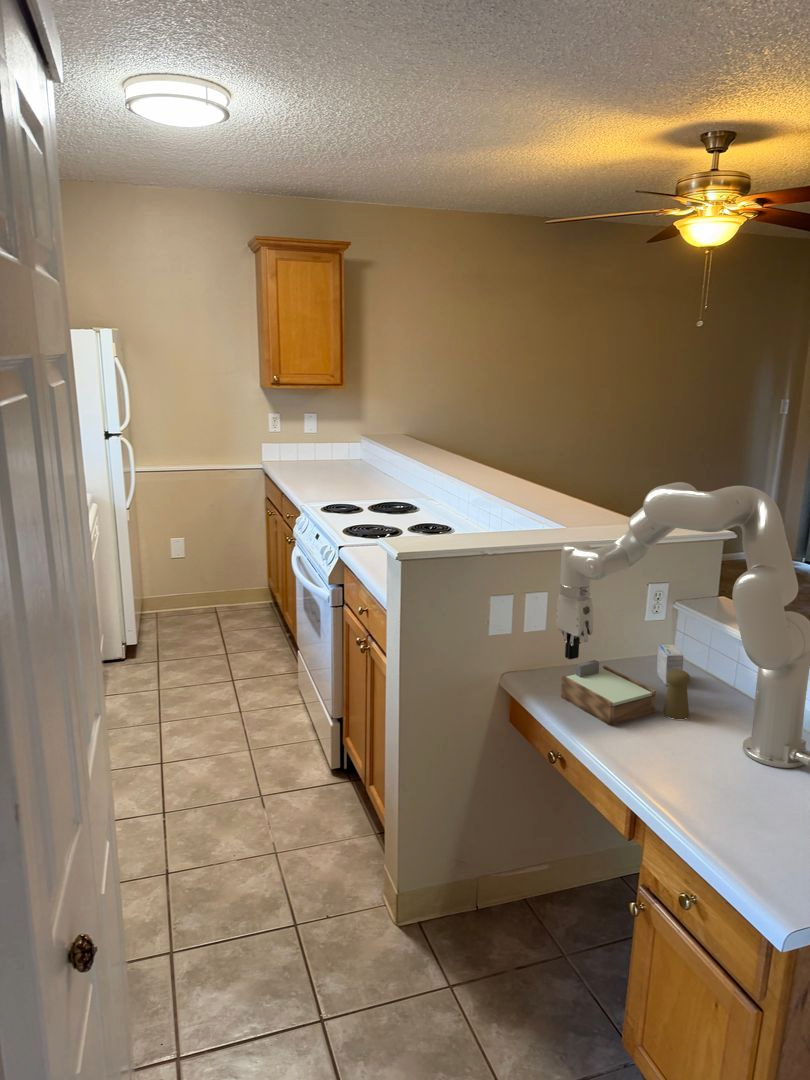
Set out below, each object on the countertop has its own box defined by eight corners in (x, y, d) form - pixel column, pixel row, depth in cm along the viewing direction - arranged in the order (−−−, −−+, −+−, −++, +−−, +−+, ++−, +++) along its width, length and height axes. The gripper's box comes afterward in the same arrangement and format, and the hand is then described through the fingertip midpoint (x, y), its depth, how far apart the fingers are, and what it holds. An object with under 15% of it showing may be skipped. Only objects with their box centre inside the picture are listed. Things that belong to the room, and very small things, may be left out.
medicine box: (682, 686, 198) (684, 655, 196) (665, 686, 198) (667, 655, 196) (672, 674, 205) (674, 644, 204) (656, 674, 206) (657, 644, 204)
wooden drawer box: (654, 713, 182) (655, 690, 181) (609, 725, 176) (610, 702, 175) (603, 686, 198) (604, 665, 197) (561, 697, 192) (561, 675, 191)
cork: (657, 711, 183) (659, 669, 181) (677, 707, 185) (680, 665, 183) (674, 721, 178) (677, 678, 175) (694, 717, 180) (698, 674, 177)
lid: (651, 695, 181) (652, 681, 180) (612, 706, 176) (613, 691, 175) (602, 670, 197) (603, 657, 196) (565, 679, 191) (565, 665, 190)
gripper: (606, 596, 189) (602, 665, 193) (568, 581, 202) (565, 646, 206) (582, 600, 185) (578, 670, 189) (545, 585, 198) (542, 650, 202)
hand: (571, 657), depth 198 cm, fingers closed
